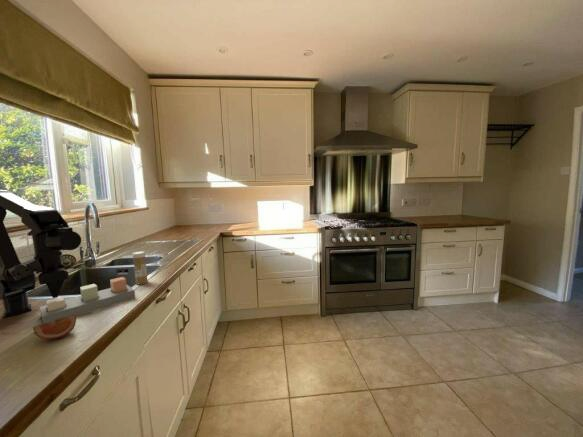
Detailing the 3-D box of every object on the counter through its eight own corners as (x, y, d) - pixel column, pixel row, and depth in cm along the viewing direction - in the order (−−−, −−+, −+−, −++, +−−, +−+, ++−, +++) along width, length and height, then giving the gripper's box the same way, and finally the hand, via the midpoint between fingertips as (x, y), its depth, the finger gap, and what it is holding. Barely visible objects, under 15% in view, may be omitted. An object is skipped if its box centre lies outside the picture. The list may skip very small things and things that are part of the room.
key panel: (41, 315, 80) (39, 306, 80) (126, 291, 98) (126, 283, 98) (43, 326, 74) (42, 316, 73) (135, 297, 91) (134, 290, 91)
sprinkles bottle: (133, 284, 105) (129, 253, 103) (142, 280, 109) (139, 250, 108) (141, 285, 104) (138, 254, 102) (150, 281, 108) (147, 251, 106)
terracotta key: (111, 292, 92) (109, 279, 91) (124, 288, 95) (122, 276, 94) (114, 295, 89) (112, 282, 88) (127, 291, 92) (125, 278, 91)
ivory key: (48, 315, 79) (46, 300, 79) (65, 310, 82) (62, 296, 82) (49, 319, 77) (47, 304, 76) (66, 314, 80) (64, 299, 79)
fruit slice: (35, 349, 62) (32, 330, 62) (35, 338, 67) (32, 321, 66) (79, 334, 68) (76, 317, 68) (76, 326, 73) (73, 309, 72)
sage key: (81, 300, 85) (79, 287, 85) (96, 296, 88) (94, 283, 88) (84, 303, 83) (82, 290, 82) (98, 299, 86) (97, 286, 85)
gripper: (8, 250, 77) (17, 298, 79) (8, 260, 65) (18, 317, 67) (57, 244, 85) (64, 287, 87) (65, 251, 73) (72, 302, 75)
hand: (55, 297), depth 79 cm, fingers closed
